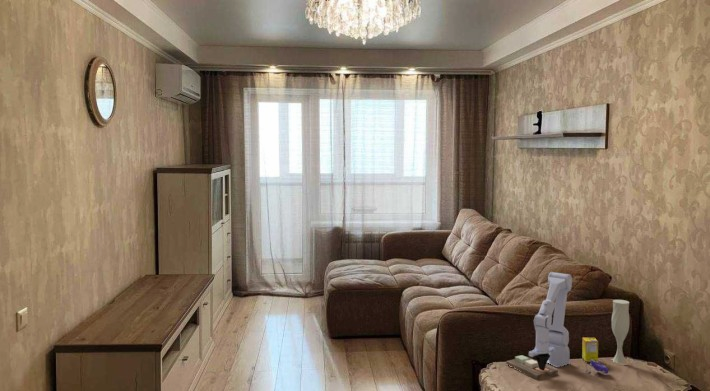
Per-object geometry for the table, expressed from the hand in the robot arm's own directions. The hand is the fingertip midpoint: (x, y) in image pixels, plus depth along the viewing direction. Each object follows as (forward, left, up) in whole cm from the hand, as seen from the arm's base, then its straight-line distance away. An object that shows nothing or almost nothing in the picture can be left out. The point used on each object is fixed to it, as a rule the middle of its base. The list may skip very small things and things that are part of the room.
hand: (541, 369), depth 261 cm
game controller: (-23, +12, -3) cm, 26 cm away
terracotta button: (0, 0, -2) cm, 2 cm away
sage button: (0, -13, -1) cm, 13 cm away
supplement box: (-33, -2, -3) cm, 33 cm away
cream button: (0, -7, -1) cm, 7 cm away
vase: (-44, +6, -3) cm, 45 cm away
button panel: (0, -7, -2) cm, 7 cm away
